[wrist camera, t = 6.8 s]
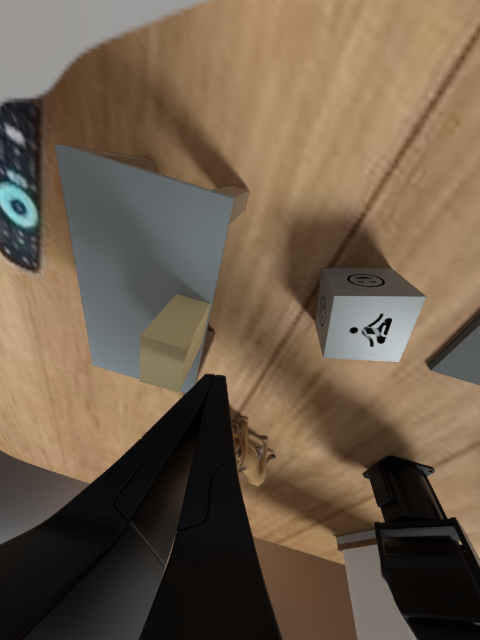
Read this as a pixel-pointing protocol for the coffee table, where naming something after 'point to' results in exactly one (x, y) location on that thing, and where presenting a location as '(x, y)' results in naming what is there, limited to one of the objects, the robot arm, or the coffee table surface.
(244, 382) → the coffee table surface
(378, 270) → the dice cube
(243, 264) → the coffee table surface
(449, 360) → the mat
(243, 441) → the lion figurine
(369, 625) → the white square tower
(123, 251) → the small grey table
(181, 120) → the coffee table surface
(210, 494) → the robot arm
